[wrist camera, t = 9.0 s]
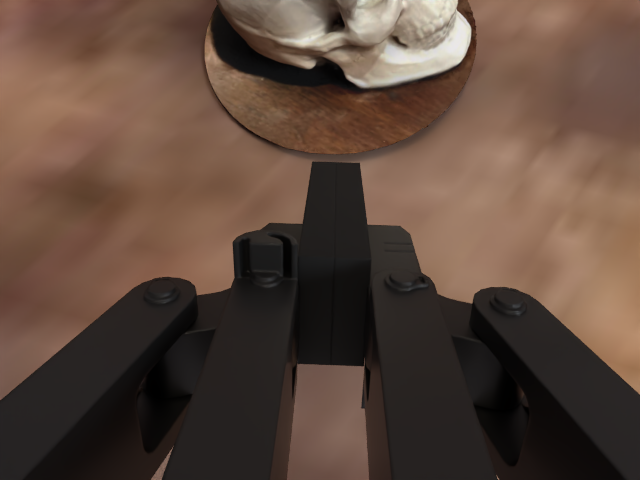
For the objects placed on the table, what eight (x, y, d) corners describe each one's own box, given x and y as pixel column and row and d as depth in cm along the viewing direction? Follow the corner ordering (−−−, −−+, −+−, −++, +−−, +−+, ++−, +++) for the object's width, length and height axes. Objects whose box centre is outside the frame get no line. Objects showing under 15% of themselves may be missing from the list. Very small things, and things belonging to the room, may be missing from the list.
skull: (508, -62, 24) (559, -123, 15) (433, 150, 28) (436, 209, 19) (264, -125, 25) (165, -220, 16) (227, 90, 29) (132, 116, 20)
